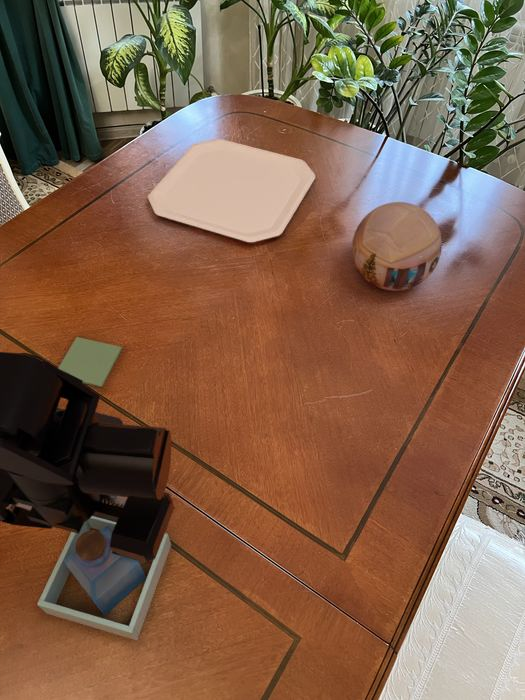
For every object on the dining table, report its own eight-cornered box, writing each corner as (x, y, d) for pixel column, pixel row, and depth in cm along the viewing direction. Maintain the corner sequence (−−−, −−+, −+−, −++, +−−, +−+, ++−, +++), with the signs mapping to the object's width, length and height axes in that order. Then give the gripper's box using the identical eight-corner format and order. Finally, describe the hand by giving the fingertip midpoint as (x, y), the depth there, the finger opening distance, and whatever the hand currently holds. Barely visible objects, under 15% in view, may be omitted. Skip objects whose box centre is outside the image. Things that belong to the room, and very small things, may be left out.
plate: (137, 216, 114) (135, 207, 112) (202, 141, 130) (201, 132, 128) (272, 257, 107) (272, 248, 106) (322, 172, 124) (323, 163, 122)
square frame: (46, 613, 68) (36, 604, 65) (88, 522, 75) (81, 510, 72) (137, 640, 67) (131, 633, 64) (171, 544, 74) (168, 533, 71)
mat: (54, 376, 90) (53, 374, 89) (77, 338, 94) (76, 336, 94) (101, 387, 88) (101, 386, 88) (122, 348, 93) (121, 346, 93)
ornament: (355, 310, 99) (369, 245, 87) (340, 252, 108) (351, 185, 97) (439, 305, 100) (464, 240, 89) (417, 248, 110) (437, 181, 98)
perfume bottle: (117, 542, 74) (97, 505, 64) (146, 578, 71) (130, 545, 62) (76, 577, 71) (49, 543, 62) (105, 615, 68) (81, 586, 59)
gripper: (185, 416, 52) (198, 488, 65) (3, 371, 55) (48, 449, 67) (138, 531, 46) (163, 587, 58) (-67, 474, 49) (-2, 539, 61)
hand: (91, 534), depth 61 cm, fingers open, 9 cm apart
